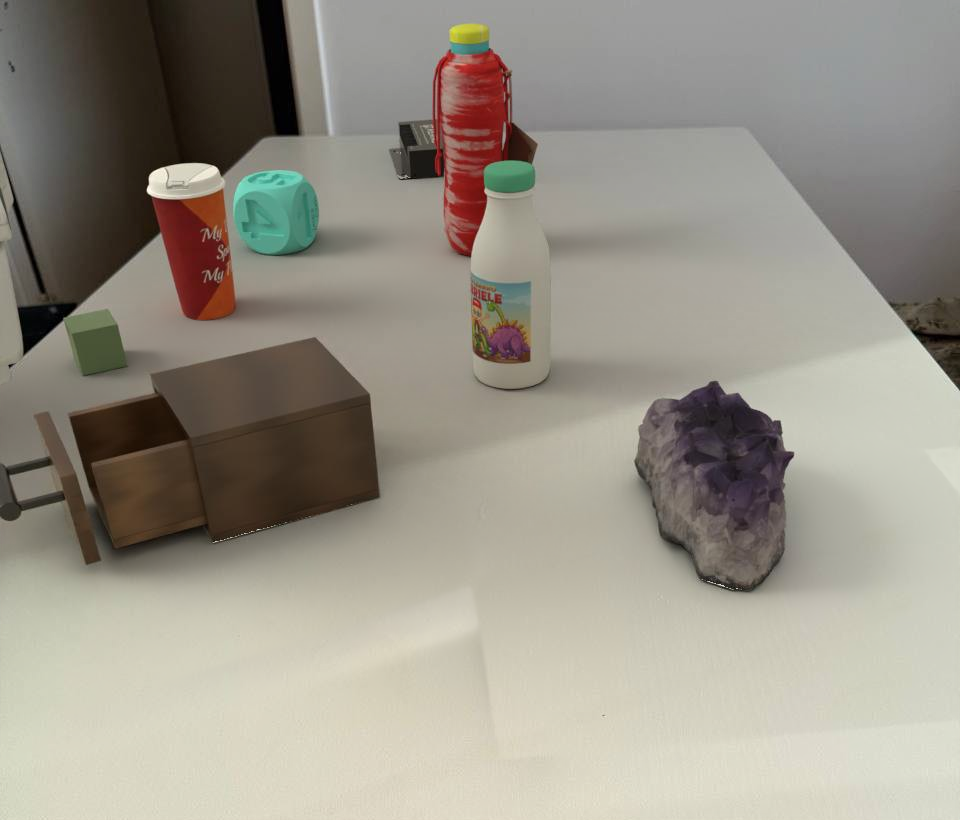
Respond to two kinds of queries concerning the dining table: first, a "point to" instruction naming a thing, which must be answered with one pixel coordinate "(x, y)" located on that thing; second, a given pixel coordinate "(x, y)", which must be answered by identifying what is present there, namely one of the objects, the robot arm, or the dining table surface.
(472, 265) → the milk bottle
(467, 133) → the water bottle
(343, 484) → the cabinet
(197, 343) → the dining table surface
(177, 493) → the drawer
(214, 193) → the coffee cup
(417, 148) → the dark grey box
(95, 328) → the block
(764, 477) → the geode
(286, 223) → the decorative dice
